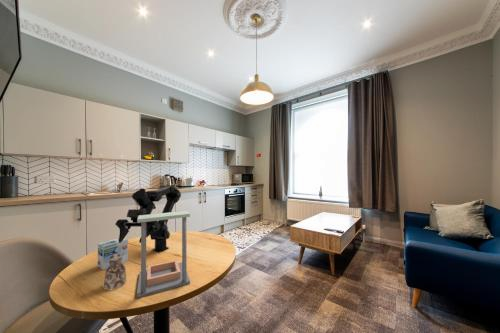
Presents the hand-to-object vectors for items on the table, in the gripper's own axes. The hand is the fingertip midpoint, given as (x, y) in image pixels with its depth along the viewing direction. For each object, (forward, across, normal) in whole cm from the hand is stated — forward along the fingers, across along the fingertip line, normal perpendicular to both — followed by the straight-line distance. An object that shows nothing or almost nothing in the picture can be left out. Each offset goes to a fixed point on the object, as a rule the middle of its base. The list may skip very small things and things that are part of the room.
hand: (129, 242), depth 82 cm
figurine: (+15, 0, +4) cm, 16 cm away
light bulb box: (+3, -14, +16) cm, 22 cm away
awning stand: (+11, +16, +8) cm, 21 cm away
